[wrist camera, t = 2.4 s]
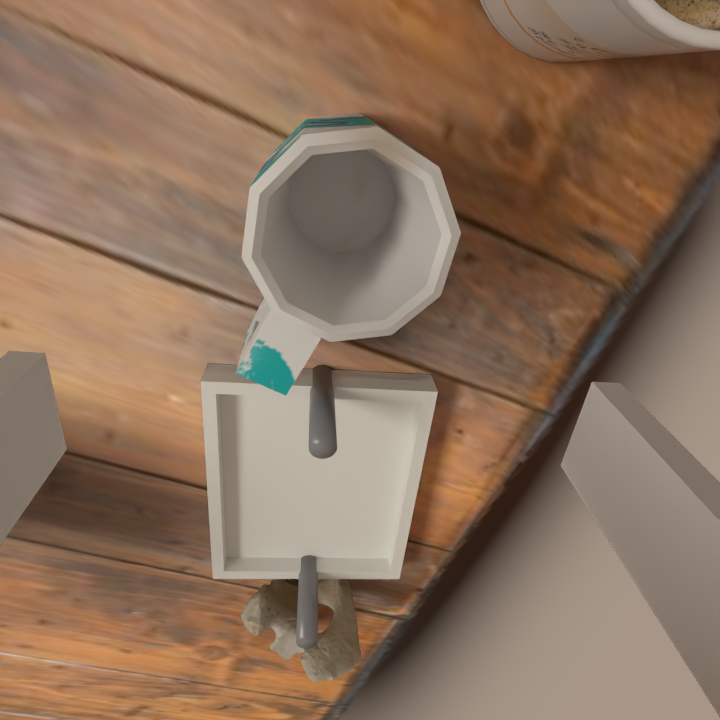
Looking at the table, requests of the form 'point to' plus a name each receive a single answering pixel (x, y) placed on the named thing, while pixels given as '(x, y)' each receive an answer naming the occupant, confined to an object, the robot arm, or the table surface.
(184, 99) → the table surface
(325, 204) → the mug
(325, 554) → the tray
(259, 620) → the bone
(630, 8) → the mug
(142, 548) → the table surface
